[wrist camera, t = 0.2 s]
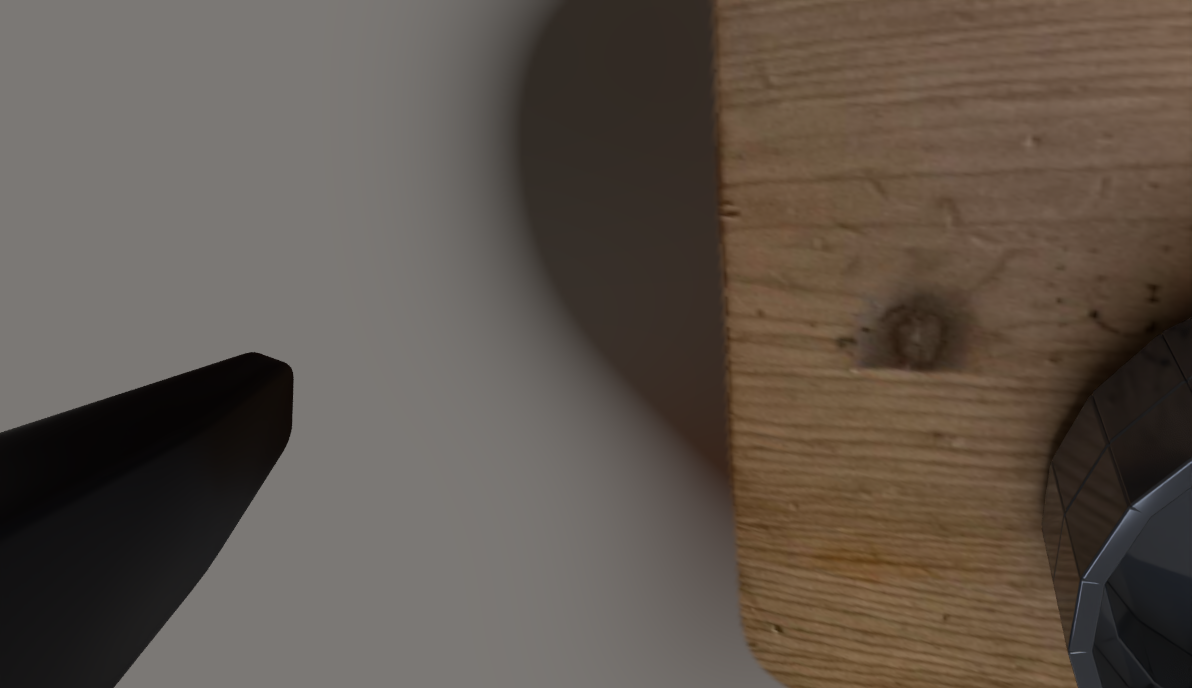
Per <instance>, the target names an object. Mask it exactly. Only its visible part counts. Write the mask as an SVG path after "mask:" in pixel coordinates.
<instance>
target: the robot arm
mask: <svg viewBox="0 0 1192 688" xmlns="http://www.w3.org/2000/svg"><path fill="white" fill-rule="evenodd" d="M293 380H294V379H293V372H292V369H291V367H290V366H289V365H288V364H287V363H285V362H282V361H279V360H276V359H274V358H271V357H268V356H265V355H263V354H260V353H255V352H250V353H245V354H242V355H239V356H236V357H233V358H230V359H226V360H223V361H220V362H217V363H214V364H211V365H208V366H205V367H202V368H199V369H196V370H192V371H189V372H186V373H183V374H180V375H177V376H174V377H171V378H168V379H165V380H162V381H159V382H156V383H153V384H149V385H146V386H143V387H140V388H137V389H135V390H131V391H128V392H125V393H122V394H118V395H115V396H112V397H109V398H106V399H103V400H100V401H97V402H94V403H91V404H88V405H84V406H81V407H79V408H75V409H72V410H69V411H66V412H63V413H60V414H57V415H54V416H50V417H47V418H44V419H41V420H38V421H35V422H32V423H29V424H26V425H23V426H20V427H17V428H13V429H11V430H8V431H4V432H1V433H0V688H114V687H115V685H116V684H117V683H118V682H119V681H120V679H121V678H122V677H123V676H124V674H125V673H126V672H127V671H128V669H129V668H130V667H131V666H132V664H133V663H134V662H135V661H136V659H137V658H138V657H139V656H140V654H141V653H142V652H143V651H144V649H145V648H146V647H147V646H148V644H149V643H150V642H151V641H152V639H153V638H154V637H155V636H156V634H157V633H158V632H159V631H160V629H161V628H162V627H163V626H164V624H165V623H166V622H167V621H168V619H169V618H170V617H171V616H172V615H173V613H174V612H175V611H176V610H177V608H178V607H179V606H180V605H181V603H182V602H183V601H184V600H185V598H186V597H187V596H188V594H189V593H190V592H191V591H192V590H193V588H194V587H195V586H196V584H197V583H198V582H199V580H200V579H201V578H202V576H203V575H204V574H205V572H206V571H207V570H208V568H209V567H210V565H211V564H212V562H213V561H214V559H215V558H216V556H217V555H218V553H219V552H220V550H221V549H222V547H223V546H224V544H225V542H226V541H227V539H228V538H229V536H230V535H231V533H232V531H233V530H234V528H235V527H236V525H237V524H238V522H239V520H240V519H241V517H242V515H243V514H244V512H245V511H246V509H247V508H248V506H249V505H250V503H251V501H252V500H253V498H254V497H255V495H256V494H257V492H258V490H259V489H260V487H261V486H262V484H263V483H264V481H265V479H266V478H267V476H268V475H269V473H270V471H271V470H272V468H273V467H274V465H275V464H276V462H277V460H278V459H279V457H280V456H281V454H282V452H283V451H284V449H285V447H286V445H287V443H288V440H289V437H290V434H291V429H292V410H293Z"/></svg>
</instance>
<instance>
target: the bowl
mask: <svg viewBox="0 0 1192 688" xmlns="http://www.w3.org/2000/svg"><path fill="white" fill-rule="evenodd" d="M1042 532H1043V537H1044V542H1045V546H1046V551H1047V556H1048V561H1049V566H1050V570H1051V575H1052V580H1053V584H1054V590H1055V594H1056V599H1057V604H1058V609H1059V614H1060V618H1061V623H1062V628H1063V633H1064V638H1065V642H1066V647H1067V652H1068V655H1069V659H1070V662H1071V666H1072V669H1073V672H1074V676H1075V679H1076V682H1077V686H1078V688H1192V317H1191V318H1189V319H1187V320H1185V321H1183V322H1181V323H1179V324H1177V325H1175V326H1173V327H1171V328H1169V329H1167V330H1165V331H1163V332H1162V335H1161V334H1160V335H1158V336H1156V337H1155V338H1154V339H1153V340H1152V341H1151V342H1150V343H1148V344H1147V345H1146V346H1145V347H1144V348H1143V349H1141V350H1140V351H1139V352H1138V353H1137V354H1136V355H1135V356H1133V357H1132V358H1131V359H1130V360H1129V361H1128V362H1127V363H1125V364H1124V365H1123V366H1122V367H1121V368H1120V369H1119V370H1117V371H1116V372H1115V373H1114V374H1113V375H1112V376H1110V377H1109V378H1108V379H1107V380H1106V381H1105V382H1104V383H1102V384H1101V385H1100V386H1099V387H1098V388H1097V389H1096V390H1094V392H1093V395H1090V396H1089V398H1088V399H1087V401H1086V403H1085V404H1084V406H1083V408H1082V410H1081V411H1080V413H1079V415H1078V416H1077V418H1076V420H1075V421H1074V423H1073V425H1072V426H1071V428H1070V430H1069V431H1068V433H1067V435H1066V436H1065V438H1064V440H1063V442H1062V443H1061V445H1060V447H1059V448H1058V450H1057V452H1056V453H1055V455H1054V457H1053V461H1052V462H1051V464H1050V470H1049V477H1048V484H1047V491H1046V498H1045V505H1044V512H1043V518H1042Z"/></svg>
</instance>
